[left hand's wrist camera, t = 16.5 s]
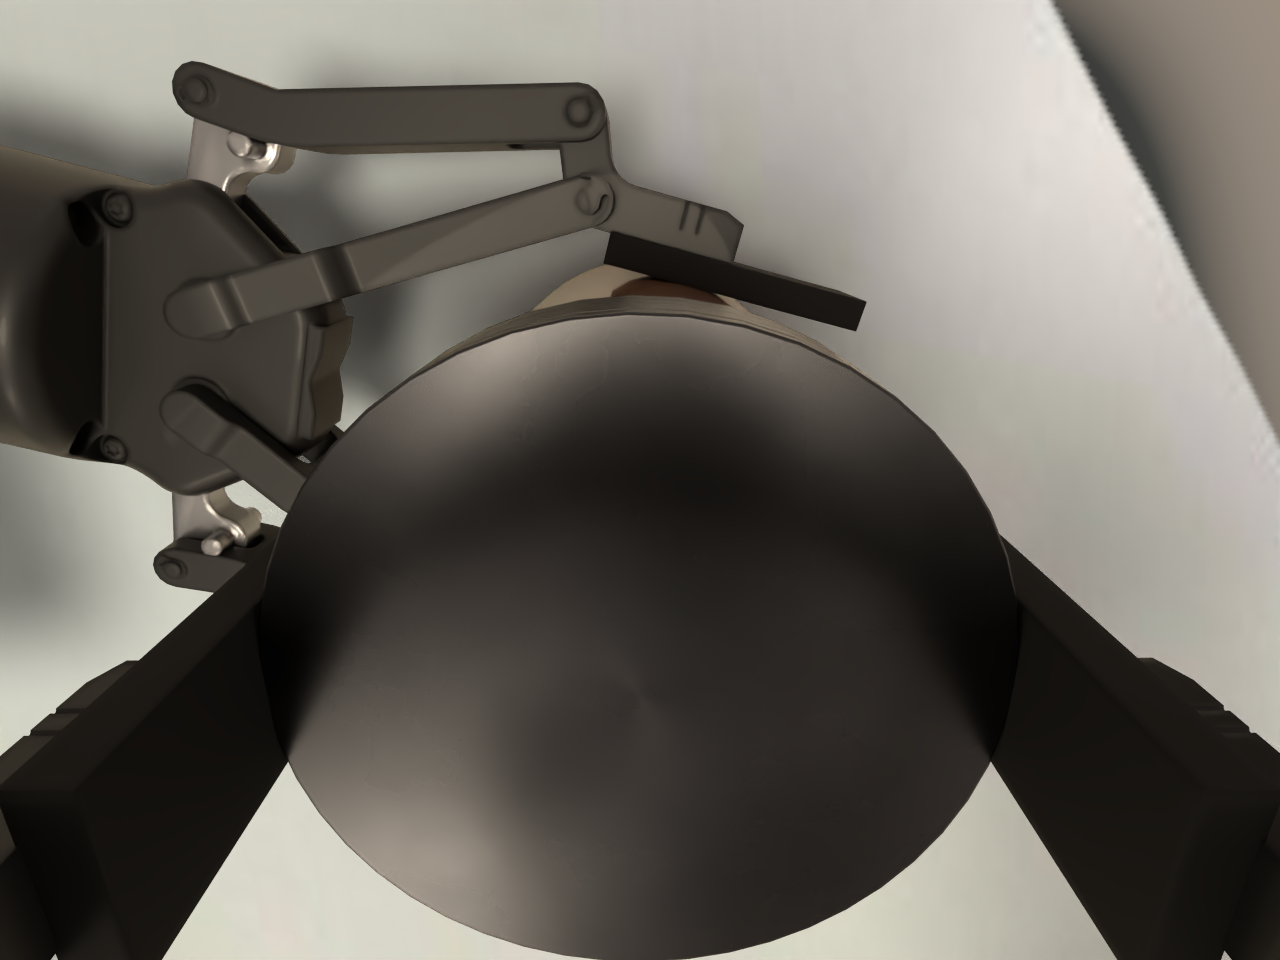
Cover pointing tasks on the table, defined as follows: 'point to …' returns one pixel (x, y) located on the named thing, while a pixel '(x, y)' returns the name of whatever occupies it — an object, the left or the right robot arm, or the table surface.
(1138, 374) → the table surface
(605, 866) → the lid
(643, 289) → the jar
